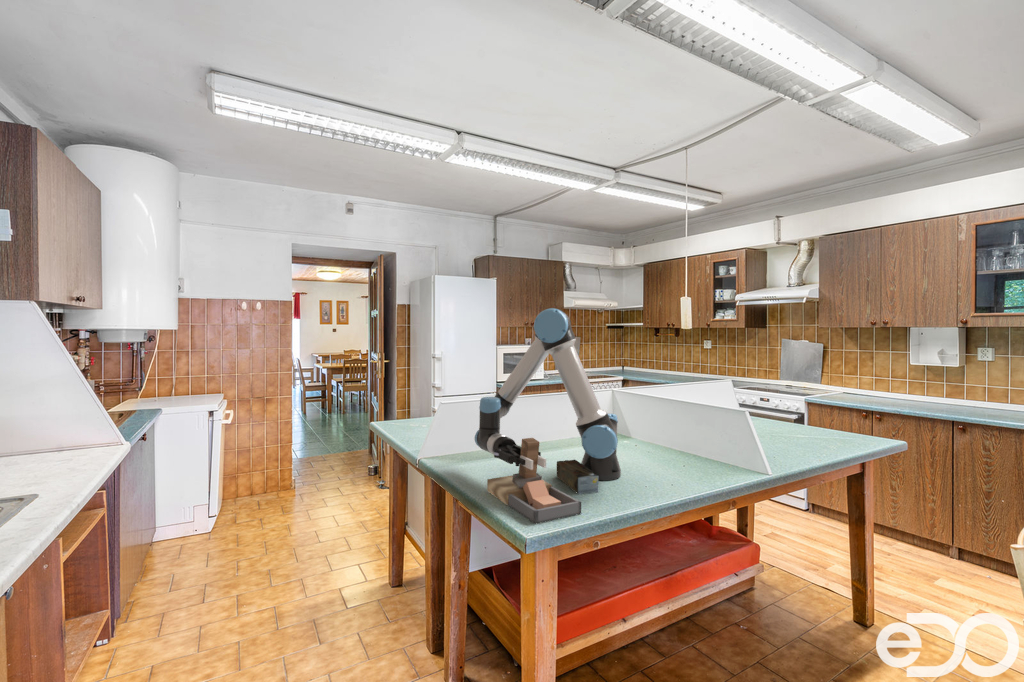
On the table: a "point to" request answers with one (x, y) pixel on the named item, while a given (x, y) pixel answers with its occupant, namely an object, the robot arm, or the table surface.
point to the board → (507, 488)
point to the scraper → (525, 475)
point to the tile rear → (535, 490)
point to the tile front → (545, 502)
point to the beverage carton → (577, 476)
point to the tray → (545, 514)
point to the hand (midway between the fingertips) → (538, 464)
